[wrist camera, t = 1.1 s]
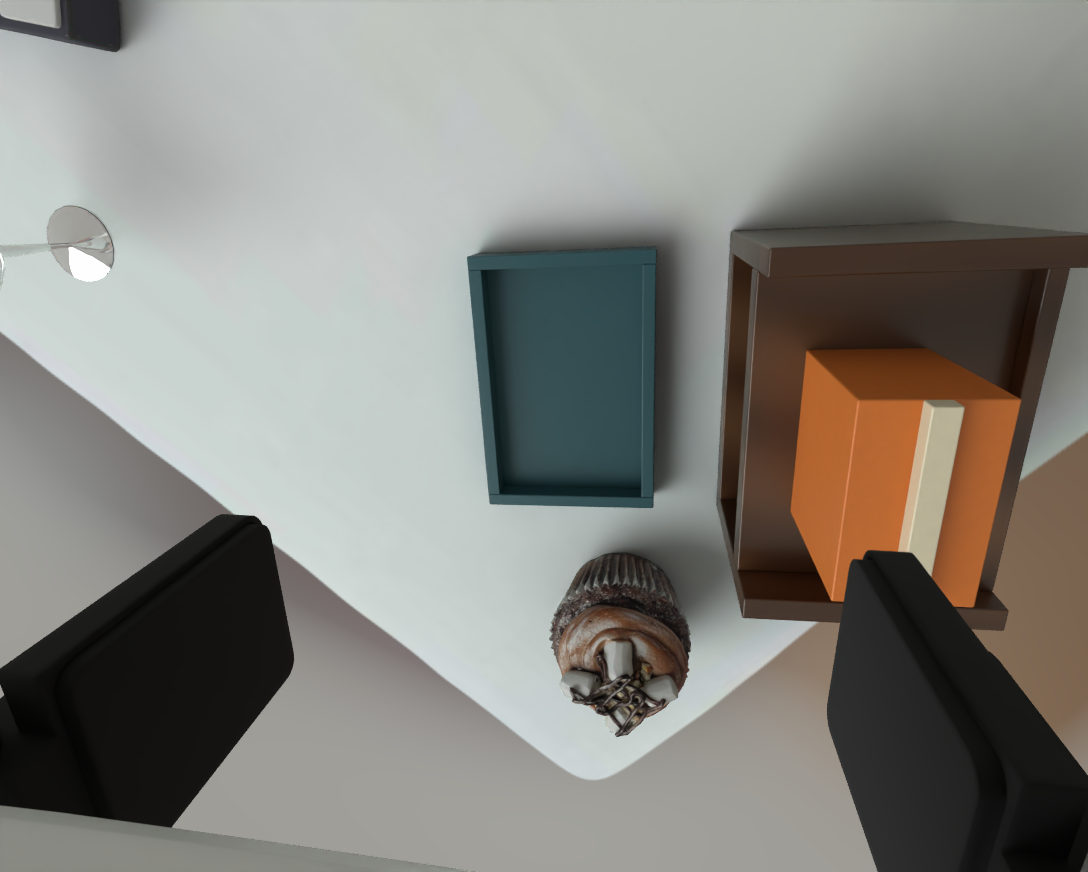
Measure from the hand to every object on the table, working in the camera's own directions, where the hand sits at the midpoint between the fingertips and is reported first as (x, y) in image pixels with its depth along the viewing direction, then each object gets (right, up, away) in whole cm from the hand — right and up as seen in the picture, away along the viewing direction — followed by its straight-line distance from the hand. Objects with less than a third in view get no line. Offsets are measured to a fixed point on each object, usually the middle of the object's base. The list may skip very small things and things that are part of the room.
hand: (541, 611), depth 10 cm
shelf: (+17, +6, +29) cm, 34 cm away
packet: (+15, +3, +20) cm, 25 cm away
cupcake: (+6, -9, +37) cm, 39 cm away
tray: (+2, +7, +31) cm, 32 cm away
